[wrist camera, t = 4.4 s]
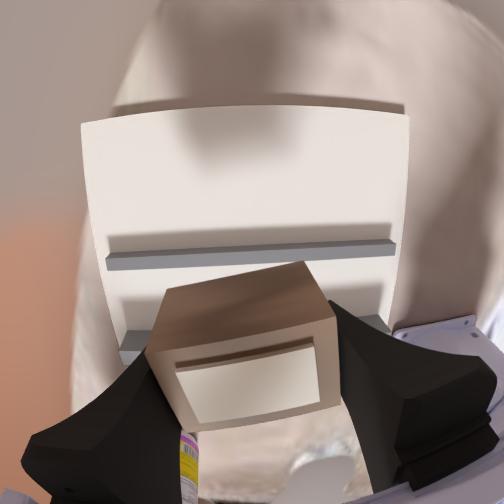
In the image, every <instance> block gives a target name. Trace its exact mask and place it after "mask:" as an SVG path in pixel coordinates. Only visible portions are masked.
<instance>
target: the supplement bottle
mask: <svg viewBox="0 0 504 504" xmlns="http://www.w3.org/2000/svg"><path fill="white" fill-rule="evenodd" d="M198 457H199V451H198V444H197V442H196V440H195V439H194V438H193V437H192V436H191V435H190V434H189V433H185V431H184V430H182V431H181V440H180V477H181V493H182V504H198V500H197V499H198Z"/></svg>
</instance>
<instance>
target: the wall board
mask: <svg viewBox="0 0 504 504" xmlns="http://www.w3.org/2000/svg"><path fill="white" fill-rule="evenodd" d="M81 136H82V151H83V162H84V173H85V182H86V191H87V199H88V206H89V213H90V220H91V226H92V232H93V238H94V244H95V249H96V254H97V259H98V264H99V269H100V274H101V278H102V283H103V287H104V292H105V296H106V300H107V304H108V308H109V312H110V316H111V319H112V323H113V327H114V330H115V334H116V337H117V341H118V344H119V348H120V349H119V354H120V357H121V360H122V363H123V365H131V363H132V362H133V361H134V360H135V359H136V358H137V356H138V355H139V354H140V353H141V352H142V351H143V349H144V348H145V347H146V346H147V344H148V341H149V338H150V335H151V332H152V329H153V326H154V323H155V320H156V317H157V315H158V312H159V309H160V306H161V303H162V300H163V298H164V295H165V292H166V289H168V288H173V287H178V286H183V285H188V284H193V283H198V282H203V281H208V280H213V279H217V278H222V277H227V276H232V275H237V274H241V273H246V272H251V271H256V270H260V269H265V268H270V267H274V266H279V265H284V264H288V263H293V262H297V261H302V260H304V262H305V263H306V265H307V267H308V268H309V270H310V272H311V274H312V275H313V277H314V279H315V280H316V282H317V284H318V286H319V287H320V289H321V291H322V292H323V294H324V296H325V298H326V299H327V300H332V301H333V302H335V303H336V304H338V305H339V306H341V307H342V308H344V309H345V310H346V311H348V312H349V313H351V314H352V315H354V316H355V317H357V318H358V319H360V320H362V321H363V322H365V323H367V324H368V325H370V326H372V327H374V328H376V329H378V330H379V331H381V332H383V333H385V334H388V335H390V336H391V333H392V332H391V330H390V329H389V328H388V326H387V324H388V319H389V314H390V309H391V304H392V299H393V293H394V288H395V282H396V276H397V270H398V263H399V256H400V249H401V241H402V233H403V224H404V215H405V204H406V192H407V177H408V156H409V115H403V114H396V113H388V112H380V111H371V110H361V109H350V108H337V107H321V106H297V105H241V106H216V107H200V108H187V109H176V110H166V111H157V112H149V113H141V114H134V115H127V116H120V117H114V118H108V119H102V120H97V121H91V122H86V123H81Z"/></svg>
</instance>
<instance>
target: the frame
mask: <svg viewBox="0 0 504 504" xmlns="http://www.w3.org/2000/svg"><path fill="white" fill-rule="evenodd" d="M144 354H145V356H146V358H147V360H148V363H149V365H150V367H151V369H152V371H153V373H154V375H155V377H156V379H157V381H158V383H159V385H160V387H161V389H162V391H163V393H164V395H165V396H166V398H167V400H168V402H169V404H170V406H171V408H172V410H173V411H174V413H175V415H176V417H177V419H178V420H179V422H180V424H181V426H182V427H183V429H184V431H185V433H191V432H201V431H210V430H218V429H226V428H233V427H239V426H246V425H252V424H258V423H263V422H269V421H274V420H279V419H284V418H288V417H293V416H297V415H302V414H306V413H310V412H314V411H318V410H322V409H326V408H330V407H334V406H337V405H341V397H340V370H339V351H338V334H337V320H336V315H335V313H334V311H333V310H332V308H331V306H330V304H329V303H328V301H327V299H326V298H325V296H324V294H323V292H322V291H321V289H320V287H319V286H318V284H317V282H316V280H315V279H314V277H313V275H312V274H311V272H310V270H309V268H308V267H307V265H306V263H305V262H304V260H302V261H297V262H293V263H288V264H284V265H279V266H274V267H270V268H265V269H260V270H256V271H251V272H246V273H241V274H237V275H232V276H227V277H222V278H217V279H213V280H208V281H203V282H198V283H193V284H188V285H183V286H178V287H173V288H168V289H166V292H165V295H164V298H163V300H162V303H161V306H160V309H159V312H158V315H157V317H156V320H155V323H154V326H153V329H152V332H151V335H150V338H149V341H148V344H147V347H146V350H145V353H144Z"/></svg>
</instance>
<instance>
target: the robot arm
mask: <svg viewBox="0 0 504 504" xmlns="http://www.w3.org/2000/svg"><path fill="white" fill-rule="evenodd" d="M327 301H328V303H329V304H330V306H331V308H332V310H333V311H334V313H335V315H336V320H337V334H338V351H339V370H340V394H341V396H342V398H343V401H344V403H345V405H346V407H347V409H348V411H349V414H350V416H351V419H352V422H353V425H354V428H355V431H356V434H357V437H358V440H359V443H360V446H361V450H362V453H363V456H364V460H365V463H366V467H367V470H368V474H369V477H370V481H371V485H372V489H373V493H374V494H372V495H369V496H366V497H363V498H360V499H356V500H353V501H350V502H346V503H343V504H504V353H503V352H502V351H501V350H500V349H499V348H498V347H497V346H496V345H495V344H494V343H493V342H492V341H490V340H489V339H488V338H487V337H486V336H485V335H484V334H483V333H482V332H481V331H480V330H479V329H478V328H477V327H476V326H475V324H476V321H477V317H476V316H475V315H469V316H465V317H460V318H456V319H451V320H446V321H441V322H436V323H431V324H426V325H421V326H416V327H410V328H404V329H399V330H397V331H395V332H394V334H393V337H392V336H390V335H388V334H385V333H383V332H381V331H379V330H378V329H376V328H374V327H372V326H370V325H368V324H367V323H365V322H363V321H362V320H360V319H358V318H357V317H355V316H354V315H352V314H351V313H349V312H348V311H346V310H345V309H344V308H342V307H341V306H339V305H338V304H336V303H335V302H333V301H332V300H327ZM404 334H405V335H404ZM146 347H147V346H146ZM146 347H145V348H144V349H143V351H142V352H141V353H140V354H139V355H138V356H137V358H136V359H135V360H134V361H133V362H132V363H131V365H130V366H129V367H128V368H127V369H126V370H125V371H124V372H123V373H122V374H121V375H120V376H119V377H118V379H117V380H116V381H115V382H114V383H113V384H112V385H111V386H110V387H108V388H107V389H106V390H105V391H104V392H103V393H102V394H101V395H99V396H98V397H97V398H96V399H95V400H93V401H92V402H90V403H89V404H88V405H86V406H85V407H84V408H82V409H81V410H79V411H78V412H76V413H75V414H73V415H72V416H70V417H68V418H67V419H65V420H63V421H62V422H60V423H58V424H56V425H54V426H52V427H50V428H48V429H45V430H43V431H41V432H38V433H36V434H34V435H32V436H31V438H30V440H29V443H28V445H27V447H26V449H25V452H24V454H23V456H22V459H21V465H22V467H23V469H24V470H25V472H26V473H27V474H28V475H29V476H30V477H31V478H32V479H33V480H34V481H35V482H36V483H37V484H39V485H40V486H41V487H42V488H43V489H44V490H46V491H47V492H48V493H49V494H50V495H52V499H51V502H50V504H182V493H181V477H180V440H181V431H182V426H181V424H180V422H179V420H178V419H177V417H176V415H175V413H174V411H173V410H172V408H171V406H170V404H169V402H168V400H167V398H166V396H165V395H164V393H163V391H162V389H161V387H160V385H159V383H158V381H157V379H156V377H155V375H154V373H153V371H152V369H151V367H150V365H149V363H148V360H147V358H146V356H145V354H144V353H145V350H146ZM0 504H39V503H37V502H36V501H35V500H34V499H32V498H31V497H29V496H28V495H26V494H23V493H21V492H18V491H15V490H11V489H8V488H4V491H3V493H2V496H1V499H0Z"/></svg>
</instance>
